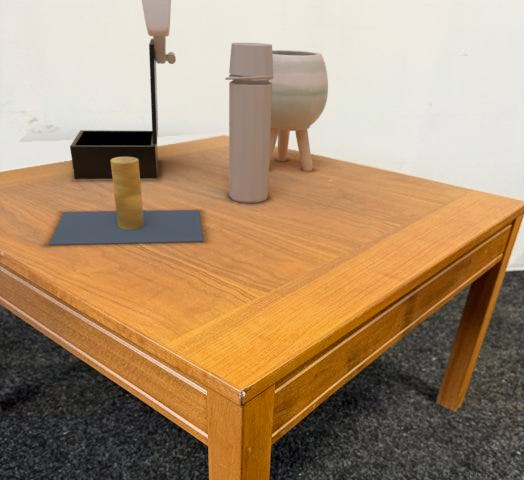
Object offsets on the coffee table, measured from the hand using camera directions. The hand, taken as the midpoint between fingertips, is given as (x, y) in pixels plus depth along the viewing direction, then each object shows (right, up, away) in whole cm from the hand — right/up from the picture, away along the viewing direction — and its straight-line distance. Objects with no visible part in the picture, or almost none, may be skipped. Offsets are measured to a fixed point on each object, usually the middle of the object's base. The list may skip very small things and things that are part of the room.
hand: (161, 61), depth 103 cm
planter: (+24, -15, +17) cm, 33 cm away
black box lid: (-2, -4, +2) cm, 5 cm away
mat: (-2, -35, -17) cm, 39 cm away
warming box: (-10, -18, +10) cm, 23 cm away
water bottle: (+16, -26, -2) cm, 31 cm away
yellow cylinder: (-1, -35, -17) cm, 39 cm away
